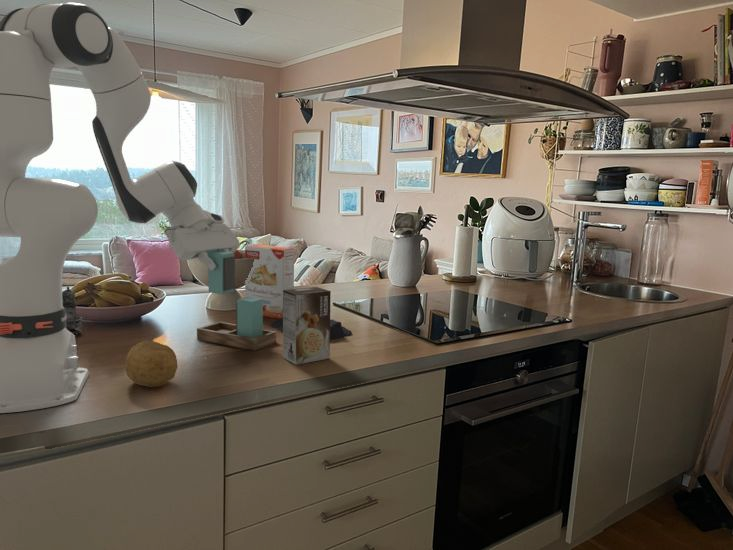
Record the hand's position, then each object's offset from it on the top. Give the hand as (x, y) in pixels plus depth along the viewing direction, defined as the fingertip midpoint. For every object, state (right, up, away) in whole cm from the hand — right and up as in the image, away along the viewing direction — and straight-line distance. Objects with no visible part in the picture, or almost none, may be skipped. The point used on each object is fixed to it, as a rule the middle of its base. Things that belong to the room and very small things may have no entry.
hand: (223, 267), depth 138 cm
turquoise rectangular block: (+7, -18, -1) cm, 19 cm away
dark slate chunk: (+20, -18, +14) cm, 30 cm away
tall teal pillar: (-1, -6, +1) cm, 6 cm away
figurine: (-40, -17, +3) cm, 43 cm away
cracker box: (+6, -14, +28) cm, 32 cm away
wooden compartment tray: (+3, -18, +1) cm, 19 cm away
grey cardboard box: (+22, -21, -10) cm, 32 cm away
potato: (-6, -24, -30) cm, 38 cm away
